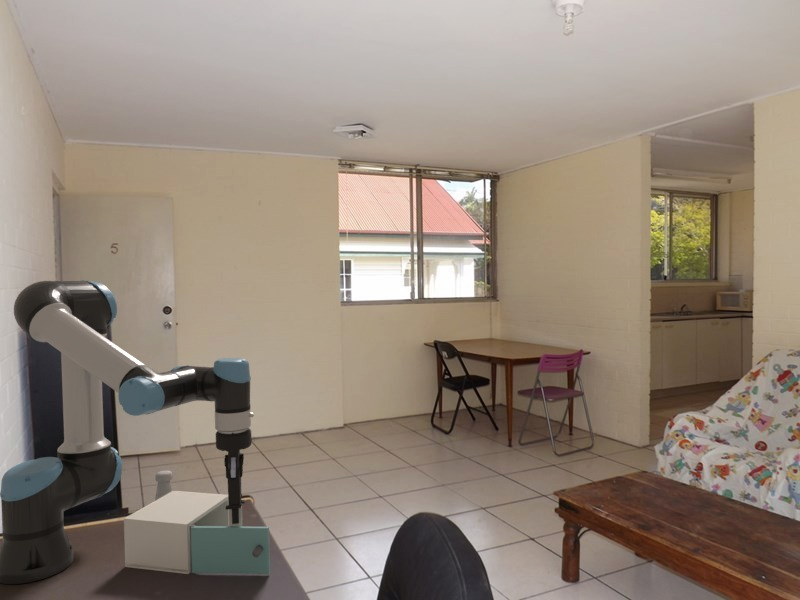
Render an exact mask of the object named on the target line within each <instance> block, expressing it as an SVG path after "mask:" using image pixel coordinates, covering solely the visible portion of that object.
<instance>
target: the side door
mask: <svg viewBox="0 0 800 600" xmlns="http://www.w3.org/2000/svg"><path fill="white" fill-rule="evenodd" d="M270 552H271V551H270V526H249V525H248V526H246V525H245V526H243V525H242V526H195V525H191V526H190V566H191V572H190V573H192V574H233V575H234V574H235V575H236V574H243V575H248V574H251V575H270V572H271V565H270V564H271V562H270V561H271V560H270V558H271V557H270V555H271V553H270Z"/></svg>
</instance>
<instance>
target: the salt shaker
mask: <svg viewBox="0 0 800 600" xmlns="http://www.w3.org/2000/svg"><path fill="white" fill-rule="evenodd" d="M154 479H155V481H156V482H157V485H156V491H155V499H154V501H156V500H157V499H159V498H161V497H163V496H165V495H166V494H168V493H170V492H172V491H173V489H172V483H171V480H172V479H173V472H172V471H171V470H161V471H158V472H156V474H155V478H154Z"/></svg>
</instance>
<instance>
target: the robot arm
mask: <svg viewBox="0 0 800 600" xmlns="http://www.w3.org/2000/svg"><path fill="white" fill-rule="evenodd" d="M117 314H118V305H117V300H116V298H115V296H114V293H113V292H112V291H111V290H110V289H109V288H108V287H107V286H106V285H105V284H103V283H102V282H97V281H89V280H54V281H53V280H43V281H37V282H34V283H32V284H30V285H27V286H26V287H24V288H23V289H22V290H21V291H20V293H19V294H18V295H17V296H16V299H15V301H14V304H13V316H14V319H15V321H16V323H17V325H18V326H19V328H20V329H21V330H22V331H23V332H24V333H25V334H27V335H28V336H29V337H30V338H32V339H33V340H34V341H36V342H40V343H48V344H49V345H50V346H52V347H53V348H54V349H56V350H58V351H59V352H60V355H61V357H60V359H61V383H62V384H61V385H62V386H61V387H62V414H63V438H64V439H63V443H62V444H61V445H60V446H59V447H57V450H56V451H57V454H56V455H57V457H54V456H45V457H39V458H36V459H29V460H26V461H23V462H20V463H19V464H16V465H13V466H12V467H11V468H10V469H8V470H7V471H6V472H5V473H4V474H3V475H2V479H1V483H0V499H1V504H0V505H1V521H2V522H1V524H2V525H1V528H2V529H1V531H2V541H1V545H0V584H3V585H18V584H26V583H32V582H36V581H40V580H41V581H42V580H43V579H47V578H49V577H52V576H54V575H56V574H58V573H60V572H62V571H64V570H66V569H67V568H69V566H71V565H72V564H73V561H74V548H73V545H72V544H71V543H70V540H69V536H68V534H67V532H66V529H65V526H64V525H65V524H64V512H65V511H67V510H70V509H72V508H75V507H77V506H79V505H81V504H83V503H87V502H90V501H92V500H96V499H98V498H101V497H102V496H103V495H105V494H107V493H109V492H111V491H113V489H114V488H115V487H116V486H117V485H118V484H119V482H120V480H121V477H122V474H123V461H122V457H121V455H119V452H118V450H117V449H116V448H114V447H113V446H111V445H112V442H111V441H110V440H109V439H107V437H105V434H104V433H105V432H104V408H103V407H104V405H103V404H104V401H103V383H104V384H105V385H107V386H108V387H109V388H111V389H112V390H113V391H114V392H116V393H118V395H117V396H118V402H119V405H121V407H122V410H123V411H124V412H125V413H126V414H128V415H130V416H133V417H134V416H135V417H136V416H142V415H143V416H144V415H150V414H155V413H156V412H157V413H158V412H159V411H164V410H166V409H169V408H172V407H178V406H181V405H184V404H185V405H186V404H188V403H191V402H197V401H198V402H200V401H201V402H214V428H215V430H216V432H215V448H216V450H219V451H221V452H227V454H225V455H224V459H223V462H224V467H225V478H226V479H227V495H228V501H229V505H228V506H226V510H227V509H229V526H243V504H245V502H246V500H245V499H242V497H243V494H242V477H243V472H244V471H243V470H244V467H243V466H244V458H245V457H244V456H245V455H244V453H241V450H246V449H249V447H251V445H252V430H251V428H250V427H252V419H251V418H253V417H254V416H255V415H254V412H251V379H252V378H251V374H250V363H249V361H248V359H246V358H243V357H227V358H226V357H225V358H219V359H218V358H217V360H215V361H214V363H213V367H212V366H211V367H210V366H196V365H191V364H190V365H188V364H187V365H179V366H174V367H173V368H172V369H171V370H169V371H163V372H156V371H155V370H154V369H153V368H150V367H149V366H147V365H146V364H145V363H143V362H142V361H140V360H138V359H137V358H135V357H134V356H133V355H131V354H130V353H128V352H127V351H126V350H124V349H123V348H121V347H120V346H119V345H117V344H115V343H114V342H113V341H111V340H110V339H108V338H107V337H106V336H107V335H108V326H110V325H111V324H112V323H113V322H114V321H115V318H116V317H117Z"/></svg>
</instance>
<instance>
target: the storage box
mask: <svg viewBox="0 0 800 600" xmlns="http://www.w3.org/2000/svg"><path fill="white" fill-rule="evenodd" d="M228 505H229V501H228V494H222V493H211V492H210V493H209V492H198V491H197V492H195V491H193V492H192V491H183V490H182V491H180V490H172V492H170V493H168V494H166V495H165V496H163V497H161V498H159V499H157V500H156V501H155V500H154V501H152V502H151V503H149V504H147V505H145V506H144V507H142V508H140V509H139V510H137V511H135V512H133V513H131V514H129V515H127V516H126V517H124V518H123V533H124V534H123V536H124V537H123V538H124V563H125V564H124V566H125V568H133V569H141V570H149V571H150V570H151V571H158V572H168V573H176V574H184V575H189V574H190V573H192V572H191V566H190V526H191V525H195V526H229V509H227V510H226V506H228Z"/></svg>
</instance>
